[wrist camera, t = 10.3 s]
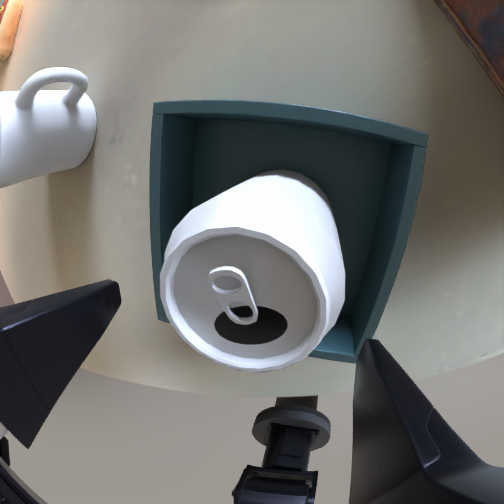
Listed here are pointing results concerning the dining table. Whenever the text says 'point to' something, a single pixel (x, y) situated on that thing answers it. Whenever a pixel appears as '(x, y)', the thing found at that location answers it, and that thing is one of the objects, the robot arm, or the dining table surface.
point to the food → (8, 26)
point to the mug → (45, 126)
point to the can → (256, 273)
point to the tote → (308, 164)
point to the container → (480, 31)
